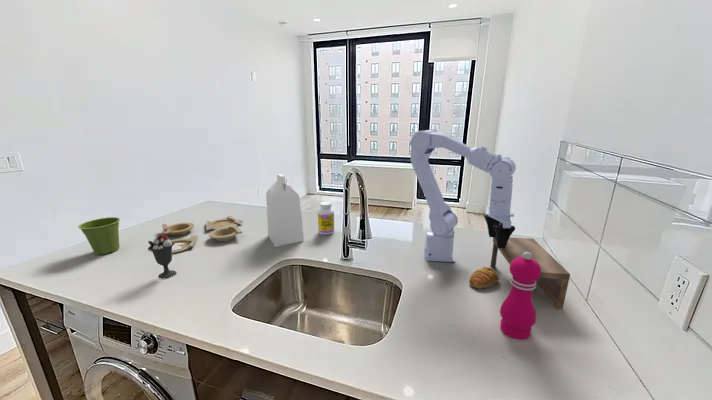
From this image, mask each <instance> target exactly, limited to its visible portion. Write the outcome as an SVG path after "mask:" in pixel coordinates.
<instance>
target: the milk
mask: <svg viewBox="0 0 712 400" xmlns="http://www.w3.org/2000/svg"><path fill="white" fill-rule="evenodd" d="M276 175H277V176H276V181H275V182H274V183H273V184H272V185H271V186H270V187H269V188H268V190H267V191H266V196H265V198H266V199H265V200H266V218H267V236H268V238H269V239H270V241H271V244H273V247H280V246H285V245H290V244H291V245H292V244H296V243H300V242H304V241H305V236H304V227H303V217H302V207H301V198H300V195H299V193H298V192H296V190H294V186H293V185H292V184H291V183H290V182H286V181H287V180H286V177H285V175H284V174H282V173H276Z"/></svg>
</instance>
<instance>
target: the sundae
mask: <svg viewBox="0 0 712 400" xmlns="http://www.w3.org/2000/svg"><path fill="white" fill-rule="evenodd" d="M165 230H167V229H165ZM165 230H164V231H165ZM165 232H166V231H165ZM147 243H148V244H149V246H148V247H147V249H148V250H150V251H151V253H152V254H153V257H154V259H155V261H156V263H157V264H158V265H160V266H162V267H163V272H161V273H159V274H158V275H157V277H159V278H158V279H160V278H161V279H160V280H164V279H163V278H166V279H170V278H172V277H174V276H175V275H177V271H176V270H174V269H171V270H170V269H169V264H170V263H171V262H172V260H173V254H172V246H173V245H174V243H173V242H172V241H171V239H169V236H167V234H165V233H164V234H163V233H161V234H159V235H158V236H156V237H155V239H154V240H153V241H152V240H148V241H147ZM173 275H174V276H173ZM171 276H172V277H171ZM169 277H170V278H169Z"/></svg>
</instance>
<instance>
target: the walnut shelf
mask: <svg viewBox="0 0 712 400" xmlns="http://www.w3.org/2000/svg"><path fill="white" fill-rule="evenodd" d="M492 243H493V244H492V251H491V260H490V268H496V266H497V259H498V251H499V252H500V254H501V255H502V256H503V257H504V259H505V260H506V262H507V263H508V265H509V266H510V264H511V262H512V260H513V259H515V258H517V257H523V253H524V252H530V253H531V254H532V259H534V260H535V261H536V262H537V263H538V264H539V265H540V267H541V275H540V277H539V279H537V280H536V285H537V286H538V287H539V288H540V289H541V291H542V292H543V293H544V294H545V295H546V297H547V299H549V301H550V302H551V304H553V305H552V306H554V307H555V309H559V310H560V309H561V310H563V309H564V305H565V300H566V297H567V296H566V295H567V291H568V287H569V281H570V277H571V273H570V272H569V271H567V269H566V268H565V267H563V265H562V264H561V263H559V262H558V261H557V260H556V259H555V258H554V257H553V256H552V255H551V254H550V253H549V252H548V251H547V250H546V249H545V248H544V247H542V245H541V244H539V242H537V241H536V240H535V238H533V237H532V238H531V237H511V236H510V237H509V240H508V242H507V245H506V247H505V248H498V247H497V241H496V237H492Z"/></svg>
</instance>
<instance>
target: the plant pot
mask: <svg viewBox="0 0 712 400" xmlns="http://www.w3.org/2000/svg"><path fill="white" fill-rule="evenodd" d="M120 221H121V217H118V216H117V217H116V216H115V217H114V216H112V217H111V216H110V217H101V218H96V219H92V220H89V221H85V222H83V223H81V224H79V225H78V226H77V228H78V229H80V230H81V232H82V233H83V234H84V236H85V238H86V239H87V241H88V243H89V245H90V247H91V248H92V251H93V253H94V254H95V255H97V256H98V255H99V256H100V255H101V256H102V255H108V254H110V253H114V252H116V251H118V250H119V249H120V235H119V234H120V233H119V232H120V231H119V227H120Z"/></svg>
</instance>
